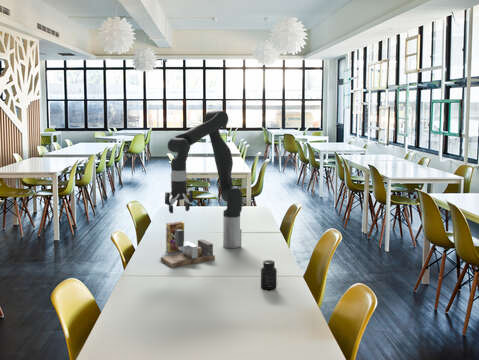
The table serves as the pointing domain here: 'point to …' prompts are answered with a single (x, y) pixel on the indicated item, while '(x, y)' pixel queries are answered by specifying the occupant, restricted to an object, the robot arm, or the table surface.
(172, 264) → the board
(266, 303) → the table surface
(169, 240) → the candy box
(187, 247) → the jaw
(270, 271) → the supplement bottle
